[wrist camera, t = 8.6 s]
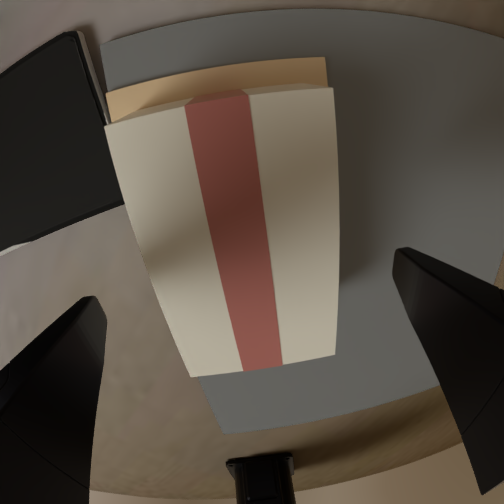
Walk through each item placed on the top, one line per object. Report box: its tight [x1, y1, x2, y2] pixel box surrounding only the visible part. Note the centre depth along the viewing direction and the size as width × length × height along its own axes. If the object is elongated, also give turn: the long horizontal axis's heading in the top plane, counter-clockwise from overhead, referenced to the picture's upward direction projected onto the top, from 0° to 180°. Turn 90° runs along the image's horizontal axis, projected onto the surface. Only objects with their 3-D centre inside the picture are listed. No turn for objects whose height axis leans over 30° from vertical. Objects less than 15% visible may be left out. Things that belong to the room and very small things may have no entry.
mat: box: [100, 9, 504, 434], centre depth 16 cm, size 26×20×1 cm
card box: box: [104, 83, 340, 377], centre depth 12 cm, size 10×6×4 cm, turn 8°
